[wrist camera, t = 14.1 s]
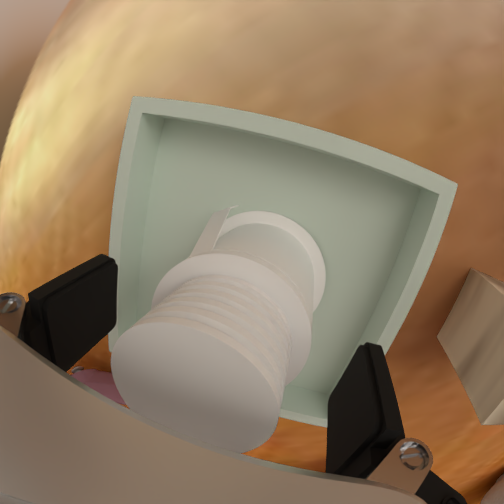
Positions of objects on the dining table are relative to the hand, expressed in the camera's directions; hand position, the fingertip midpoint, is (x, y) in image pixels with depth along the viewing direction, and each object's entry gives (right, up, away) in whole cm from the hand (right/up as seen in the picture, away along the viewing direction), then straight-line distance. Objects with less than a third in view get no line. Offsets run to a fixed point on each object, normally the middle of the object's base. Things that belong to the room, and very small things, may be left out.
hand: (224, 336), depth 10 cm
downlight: (+1, +2, +6) cm, 6 cm away
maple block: (+16, -1, +4) cm, 16 cm away
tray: (+1, +2, +6) cm, 7 cm away
